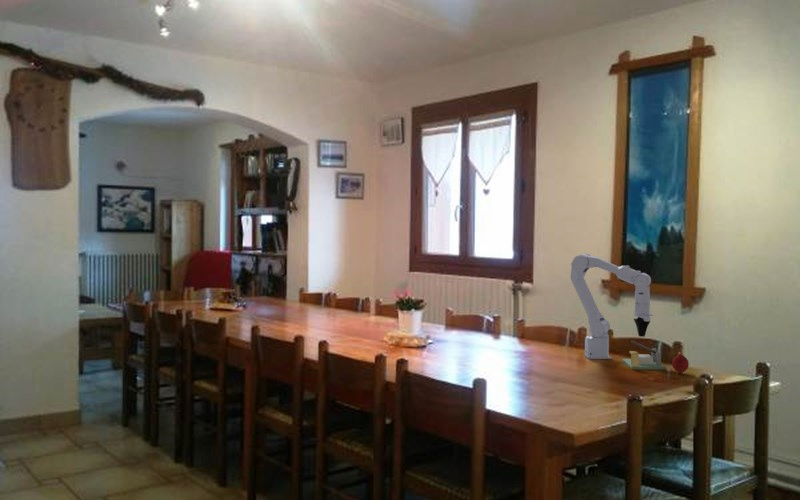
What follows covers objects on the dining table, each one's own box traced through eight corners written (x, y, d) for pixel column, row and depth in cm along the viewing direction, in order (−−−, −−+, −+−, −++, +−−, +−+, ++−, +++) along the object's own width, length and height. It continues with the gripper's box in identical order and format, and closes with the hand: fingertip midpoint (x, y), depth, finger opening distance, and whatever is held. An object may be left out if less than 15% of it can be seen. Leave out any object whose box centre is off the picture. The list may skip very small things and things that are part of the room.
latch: (632, 366, 262) (632, 353, 262) (629, 364, 266) (629, 351, 266) (638, 366, 262) (638, 353, 261) (635, 364, 266) (635, 351, 266)
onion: (688, 372, 256) (689, 351, 256) (688, 375, 251) (688, 354, 251) (672, 371, 259) (672, 350, 258) (671, 374, 254) (671, 353, 253)
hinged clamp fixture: (631, 369, 262) (631, 354, 262) (621, 361, 276) (622, 346, 276) (665, 369, 261) (665, 354, 261) (654, 361, 275) (654, 346, 275)
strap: (632, 343, 266) (633, 341, 266) (629, 341, 271) (630, 339, 271) (658, 355, 266) (659, 353, 266) (655, 353, 270) (656, 351, 270)
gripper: (658, 305, 266) (657, 339, 267) (646, 300, 281) (646, 332, 282) (639, 305, 267) (639, 339, 268) (629, 300, 281) (629, 332, 282)
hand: (641, 336), depth 275 cm, fingers closed
